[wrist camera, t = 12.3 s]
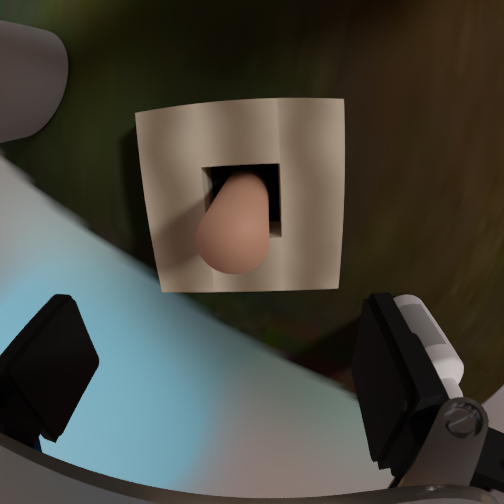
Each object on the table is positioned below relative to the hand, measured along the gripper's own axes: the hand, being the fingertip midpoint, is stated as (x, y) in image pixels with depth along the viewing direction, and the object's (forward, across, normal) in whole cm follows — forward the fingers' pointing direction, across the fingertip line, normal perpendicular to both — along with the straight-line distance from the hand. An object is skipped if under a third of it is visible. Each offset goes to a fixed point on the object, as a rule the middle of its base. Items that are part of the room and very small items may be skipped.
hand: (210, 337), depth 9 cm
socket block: (+20, 0, 0) cm, 20 cm away
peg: (+20, 0, 0) cm, 20 cm away
